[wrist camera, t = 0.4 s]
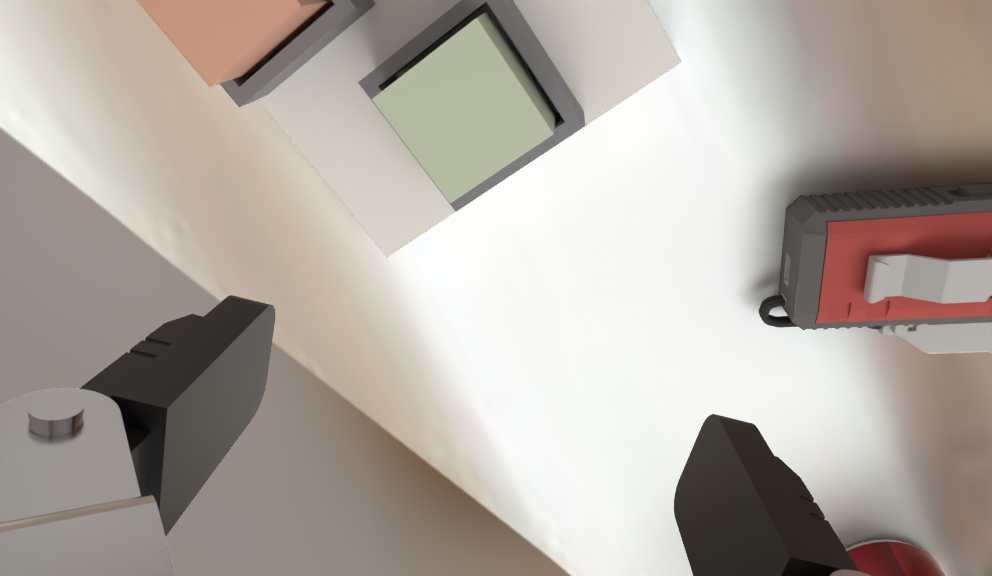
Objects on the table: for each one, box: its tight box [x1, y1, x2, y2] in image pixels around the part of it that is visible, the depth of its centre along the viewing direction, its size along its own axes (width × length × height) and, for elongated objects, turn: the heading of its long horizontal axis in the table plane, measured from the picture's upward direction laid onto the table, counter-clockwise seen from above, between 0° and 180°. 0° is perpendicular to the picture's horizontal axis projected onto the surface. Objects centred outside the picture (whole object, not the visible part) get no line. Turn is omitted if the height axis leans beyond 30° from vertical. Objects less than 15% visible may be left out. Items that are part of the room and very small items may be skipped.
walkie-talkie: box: [759, 182, 992, 354], centre depth 31 cm, size 9×4×20 cm
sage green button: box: [372, 11, 556, 203], centre depth 26 cm, size 5×5×4 cm
